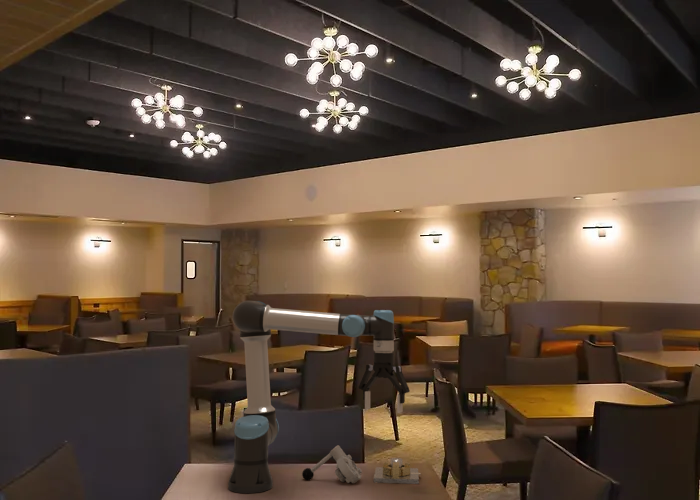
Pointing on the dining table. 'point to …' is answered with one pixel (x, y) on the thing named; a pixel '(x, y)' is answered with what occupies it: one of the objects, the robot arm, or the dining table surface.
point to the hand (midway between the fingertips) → (383, 411)
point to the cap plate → (408, 479)
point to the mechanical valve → (338, 467)
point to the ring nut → (396, 469)
